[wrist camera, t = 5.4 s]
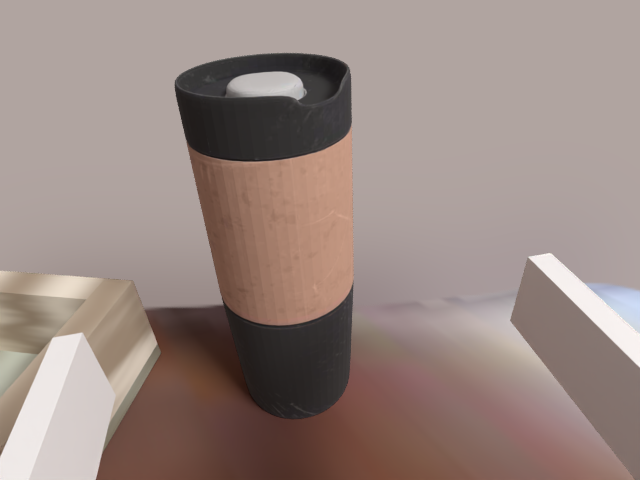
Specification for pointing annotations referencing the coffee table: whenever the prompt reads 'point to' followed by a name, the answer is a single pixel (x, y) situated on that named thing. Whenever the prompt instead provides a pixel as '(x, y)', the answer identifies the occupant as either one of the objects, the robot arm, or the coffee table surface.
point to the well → (65, 319)
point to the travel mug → (278, 217)
